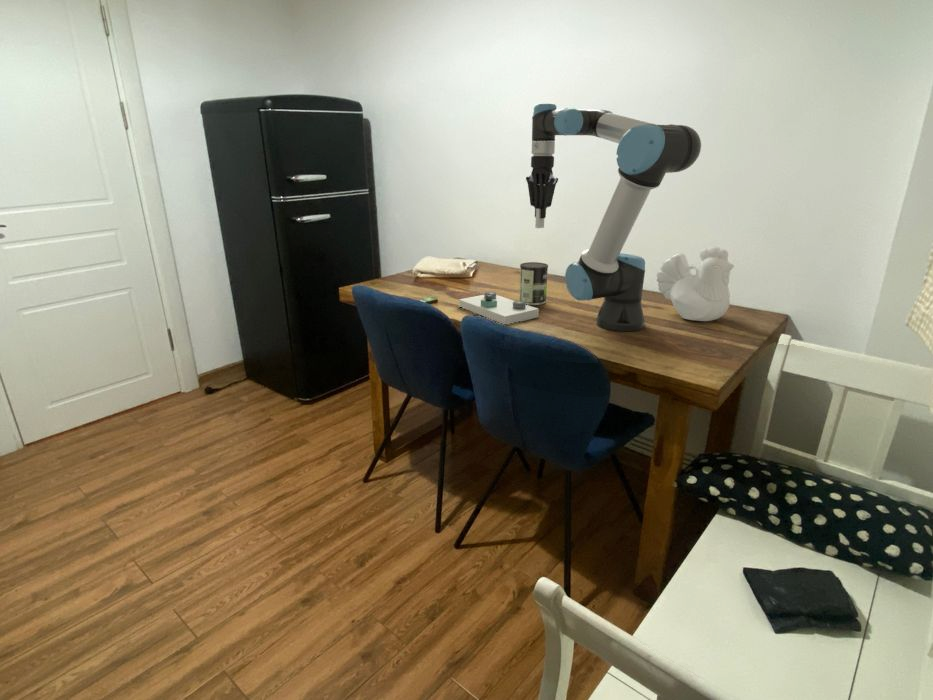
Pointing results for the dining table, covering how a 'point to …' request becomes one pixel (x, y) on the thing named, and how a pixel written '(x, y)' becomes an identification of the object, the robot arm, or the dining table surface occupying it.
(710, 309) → the decorative rooster
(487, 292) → the knob far
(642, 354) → the dining table surface
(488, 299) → the knob
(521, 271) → the coffee can
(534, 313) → the panel
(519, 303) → the knob near
